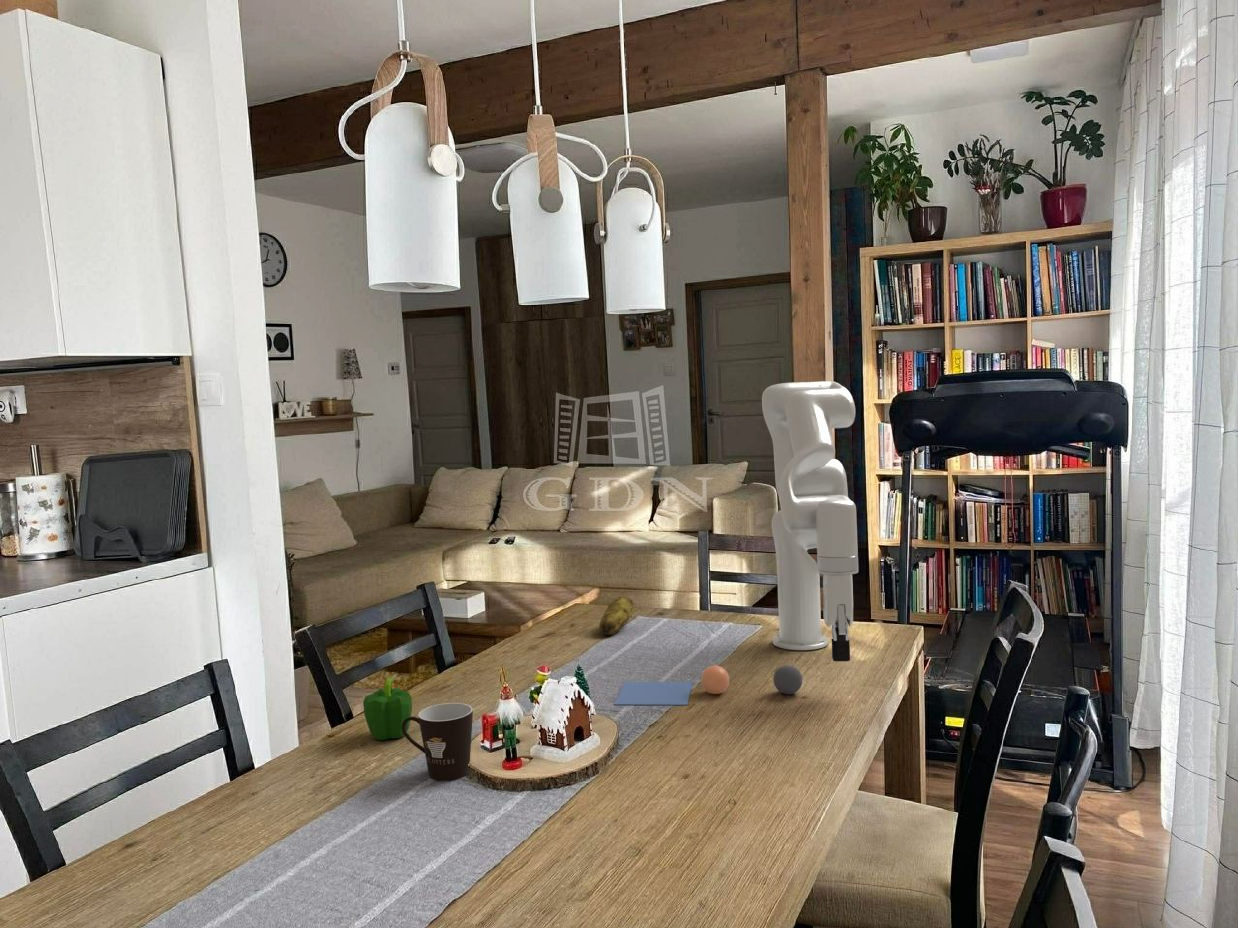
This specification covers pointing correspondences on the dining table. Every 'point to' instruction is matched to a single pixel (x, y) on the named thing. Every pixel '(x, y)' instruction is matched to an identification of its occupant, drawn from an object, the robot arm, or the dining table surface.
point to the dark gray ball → (787, 679)
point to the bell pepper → (387, 711)
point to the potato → (616, 615)
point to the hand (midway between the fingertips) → (841, 659)
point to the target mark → (654, 693)
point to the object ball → (715, 679)
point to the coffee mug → (445, 739)
